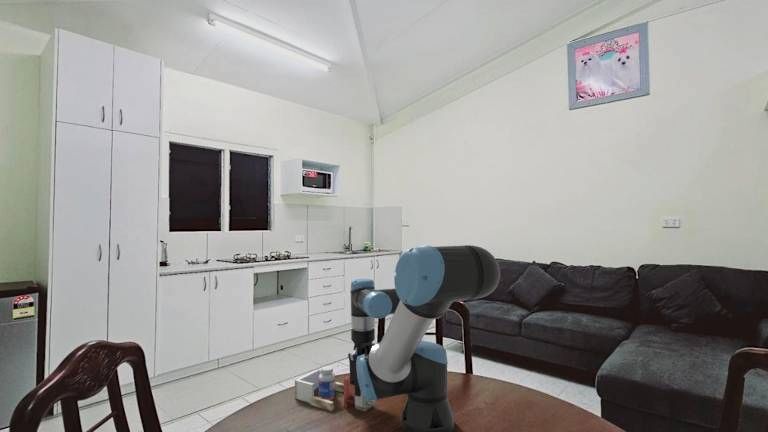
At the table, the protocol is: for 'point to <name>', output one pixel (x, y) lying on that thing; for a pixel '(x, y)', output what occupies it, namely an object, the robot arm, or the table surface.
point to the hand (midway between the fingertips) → (363, 402)
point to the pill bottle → (327, 383)
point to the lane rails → (326, 403)
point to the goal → (307, 385)
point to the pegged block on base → (350, 396)
